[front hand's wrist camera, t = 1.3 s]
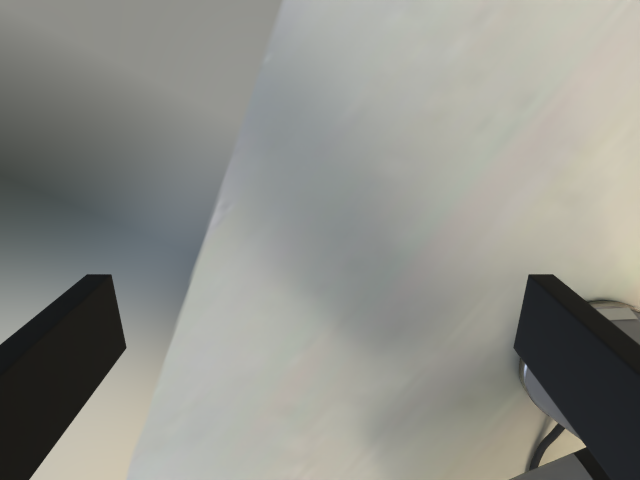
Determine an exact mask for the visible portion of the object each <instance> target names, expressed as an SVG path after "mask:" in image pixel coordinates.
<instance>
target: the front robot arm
mask: <svg viewBox="0 0 640 480" xmlns="http://www.w3.org/2000/svg"><path fill="white" fill-rule="evenodd" d="M125 349H126V343H125V338H124V334H123V329H122V324H121V319H120V314H119V309H118V304H117V300H116V295H115V290H114V285H113V280H112V275H108V274H107V275H105V274H104V275H103V274H102V275H101V274H91V275H90V274H87V275H86V276H85V277H83V278H82V279H81V280H80V281H78V282H77V283H76V284H75V285H73V286H72V287H71V288H70V289H68V290H67V291H66V292H65V293H64V294H62V295H61V296H60V297H59V298H57V299H56V300H55V301H54V302H52V303H51V304H50V305H49V306H48V307H46V308H45V309H44V310H43V311H41V312H40V313H39V314H38V315H36V316H35V317H34V318H33V319H31V320H30V321H29V322H28V323H27V324H25V325H24V326H23V327H22V328H20V329H19V330H18V331H17V332H16V333H14V334H13V335H12V336H11V337H9V338H8V339H7V340H6V341H4V342H3V343H2V344H1V345H0V480H29V479H30V478H31V477H32V475H33V474H34V472H35V471H36V470H37V468H38V467H39V466H40V464H41V463H42V462H43V460H44V459H45V458H46V456H47V455H48V454H49V452H50V451H51V449H52V448H53V447H54V445H55V444H56V443H57V441H58V440H59V439H60V437H61V436H62V435H63V433H64V432H65V430H66V429H67V428H68V426H69V425H70V424H71V422H72V421H73V420H74V418H75V417H76V416H77V414H78V413H79V412H80V410H81V409H82V407H83V406H84V405H85V403H86V402H87V401H88V399H89V398H90V397H91V395H92V394H93V393H94V391H95V390H96V388H97V387H98V386H99V384H100V383H101V382H102V380H103V379H104V378H105V376H106V375H107V374H108V372H109V371H110V370H111V368H112V367H113V365H114V364H115V363H116V361H117V360H118V359H119V357H120V356H121V355H122V353H123V352H124V351H125ZM514 349H515V351H516V352H517V353H518V355H519V356H520V357H521V358H520V364H519V374H520V379H521V383H522V385H523V387H524V389H525V390H526V392H527V393H528V395H529V396H530V398H531V399H532V401H533V402H534V403H535V404H536V405H537V406H538V407H539V408H540V409H541V410H542V411H543V412H544V413H545V414H547V415H548V416H550V417H551V418H553V419H554V420H555V421H557V422H558V424H557V425H556V426H555V428H554V429H553V430H552V431H551V432H550V433H549V434H548V435H547V436H546V437H545V438H544V439H543V440H542V441H541V443H540V444H539V446H538V448H537V450H536V452H535V454H534V457H533V459H532V462H531V466H530V470H529V471H528V472H526V473H524V474H521V475H519V476H516V477H514V478H512V479H509V480H640V311H639V310H637V309H635V308H634V307H632V306H629V305H627V304H623V303H620V302H614V301H593V302H586V301H585V300H584V299H583V298H581V297H580V296H579V295H578V294H576V293H575V292H574V291H573V290H572V289H570V288H569V287H568V286H567V285H565V284H564V283H563V282H562V281H560V280H559V279H558V278H557V277H555V276H554V275H553V274H529V275H528V280H527V285H526V290H525V295H524V300H523V304H522V309H521V314H520V319H519V324H518V329H517V334H516V338H515V343H514ZM565 428H566V429H567V430H568V431H570V432H571V433H572V434H574V435H575V436H577V437H578V438H579V439H581V440H582V441H583V443H584V444H585V445H586V448H584V449H581V450H579V451H577V452H574V453H571V454H569V455H566V456H564V457H562V458H559V459H557V460H555V461H552V462H550V463H547V464H545V465H543V466H540V467H538V465H539V462H540V460H541V458H542V456H543V454H544V452H545V450H546V449H547V447H548V446H549V445H550V444H551V443H552V442H553V441H554V440H555V439H556V438H557V437H558V436H559V435H560V434H561V433H562V432H563V430H564V429H565Z"/></svg>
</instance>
